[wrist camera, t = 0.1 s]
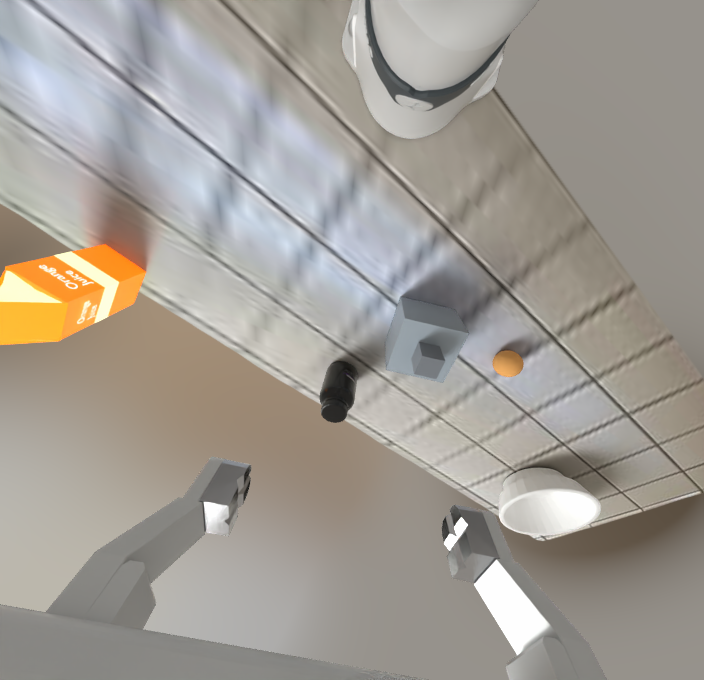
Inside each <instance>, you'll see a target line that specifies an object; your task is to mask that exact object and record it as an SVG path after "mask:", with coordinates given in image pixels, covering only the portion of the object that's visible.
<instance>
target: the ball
mask: <svg viewBox="0 0 704 680" xmlns="http://www.w3.org/2000/svg"><path fill="white" fill-rule="evenodd" d="M493 367H494V369H495V371H496V372H497V373H498V374H500V375H502V376H505V377H512V376H516V375H517V374H519V373H520V372H521V371H522V369H523V360H522V358H521V356H520V355H519V354H517V353H516V352H514V351H509V350H505V351H501V352H499V353H498V354H496V355H495V357H494V359H493Z"/></svg>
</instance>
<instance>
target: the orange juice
mask: <svg viewBox="0 0 704 680" xmlns="http://www.w3.org/2000/svg"><path fill="white" fill-rule="evenodd" d="M145 274H146V271H144V270H143V269H141V268H140V267H138V266H137V265H135V264H134V263H132V262H131V261H129V260H128V259H126V258H125V257H123V256H122V255H120V254H119V253H117V252H116V251H114V250H113V249H111V248H110V247H108V246H107V245H105V244H104V245H99V246H95V247H91V248H86V249H82V250H77V251H73V252H67V253H63V254H58V255H54V256H52V257H47V258H42V259H37V260H33V261H29V262H25V263H20V264H15V265H12V266H6V267H5V271H4V273H3V275H2V276H1V278H0V345H6V344H20V343H36V342H52V341H60V340H61V339H63V338H65V337H67V336H69V335H71V334H73V333H75V332H77V331H79V330H81V329H83V328H85V327H87V326H89V325H91V324H93V323H96V322H98V321H100V320H102V319H104V318H106V317H108V316H109V315H112V314H114V313H116V312H118V311H120V310H122V309H124V308H126V307H128V306H130V305H132V304H134V302H135V299H136V297H137V294H138V291H139V289H140V286H141V284H142V281H143V279H144V276H145Z"/></svg>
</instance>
